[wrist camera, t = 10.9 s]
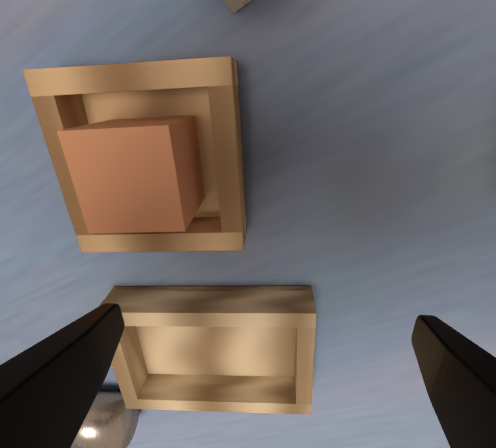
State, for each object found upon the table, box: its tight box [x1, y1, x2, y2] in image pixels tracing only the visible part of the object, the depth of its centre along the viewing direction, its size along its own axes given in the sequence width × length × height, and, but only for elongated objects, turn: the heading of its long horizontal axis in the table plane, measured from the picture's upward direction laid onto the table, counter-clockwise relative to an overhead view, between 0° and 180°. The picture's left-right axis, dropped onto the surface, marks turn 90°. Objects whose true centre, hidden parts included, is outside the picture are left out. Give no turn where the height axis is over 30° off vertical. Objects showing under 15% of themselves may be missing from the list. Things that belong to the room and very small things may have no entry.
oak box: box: [23, 56, 247, 252], centre depth 18 cm, size 10×10×3 cm
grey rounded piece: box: [71, 391, 139, 448], centre depth 28 cm, size 7×4×4 cm, turn 93°
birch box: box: [100, 286, 316, 414], centre depth 24 cm, size 15×10×3 cm
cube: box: [57, 115, 205, 234], centre depth 16 cm, size 5×5×5 cm
